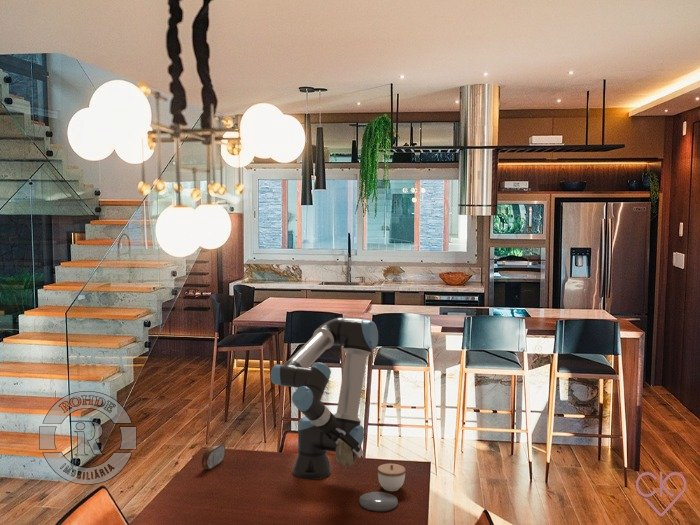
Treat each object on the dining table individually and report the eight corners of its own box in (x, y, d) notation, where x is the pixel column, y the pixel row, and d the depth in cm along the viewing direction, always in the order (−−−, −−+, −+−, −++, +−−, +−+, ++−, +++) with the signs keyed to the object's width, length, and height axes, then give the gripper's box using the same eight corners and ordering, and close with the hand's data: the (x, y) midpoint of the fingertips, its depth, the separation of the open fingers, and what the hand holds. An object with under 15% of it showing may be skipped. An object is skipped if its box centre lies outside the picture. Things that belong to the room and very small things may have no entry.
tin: (220, 459, 280) (220, 440, 279) (226, 460, 279) (226, 441, 278) (200, 471, 266) (200, 451, 265) (207, 472, 265) (207, 452, 264)
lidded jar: (403, 495, 247) (403, 470, 246) (375, 492, 249) (375, 468, 248) (406, 484, 257) (407, 460, 257) (379, 481, 260) (380, 458, 259)
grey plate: (351, 501, 240) (351, 498, 240) (378, 491, 249) (378, 488, 249) (378, 514, 230) (378, 511, 230) (405, 503, 239) (405, 500, 239)
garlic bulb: (340, 473, 243) (333, 450, 240) (336, 461, 251) (329, 439, 248) (364, 464, 244) (357, 442, 241) (359, 453, 252) (352, 431, 250)
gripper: (298, 420, 243) (330, 452, 255) (335, 434, 228) (367, 468, 240) (310, 403, 246) (341, 436, 258) (347, 416, 231) (378, 450, 243)
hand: (353, 451), depth 249 cm, fingers closed on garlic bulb, 8 cm apart
